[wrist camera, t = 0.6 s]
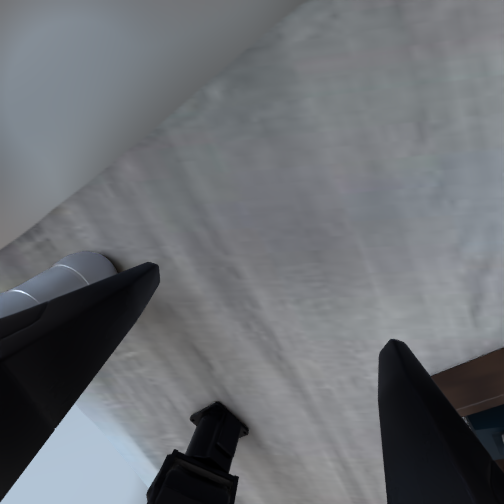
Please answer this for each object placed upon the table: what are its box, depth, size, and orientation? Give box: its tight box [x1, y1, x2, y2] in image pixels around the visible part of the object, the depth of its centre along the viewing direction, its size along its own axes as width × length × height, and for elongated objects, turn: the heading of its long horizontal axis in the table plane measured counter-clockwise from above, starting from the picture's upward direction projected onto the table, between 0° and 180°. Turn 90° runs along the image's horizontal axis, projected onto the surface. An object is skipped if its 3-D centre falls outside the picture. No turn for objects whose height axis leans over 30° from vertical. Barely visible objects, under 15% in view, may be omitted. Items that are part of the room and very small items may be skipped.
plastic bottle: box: [0, 251, 117, 318], centre depth 22 cm, size 6×7×20 cm
